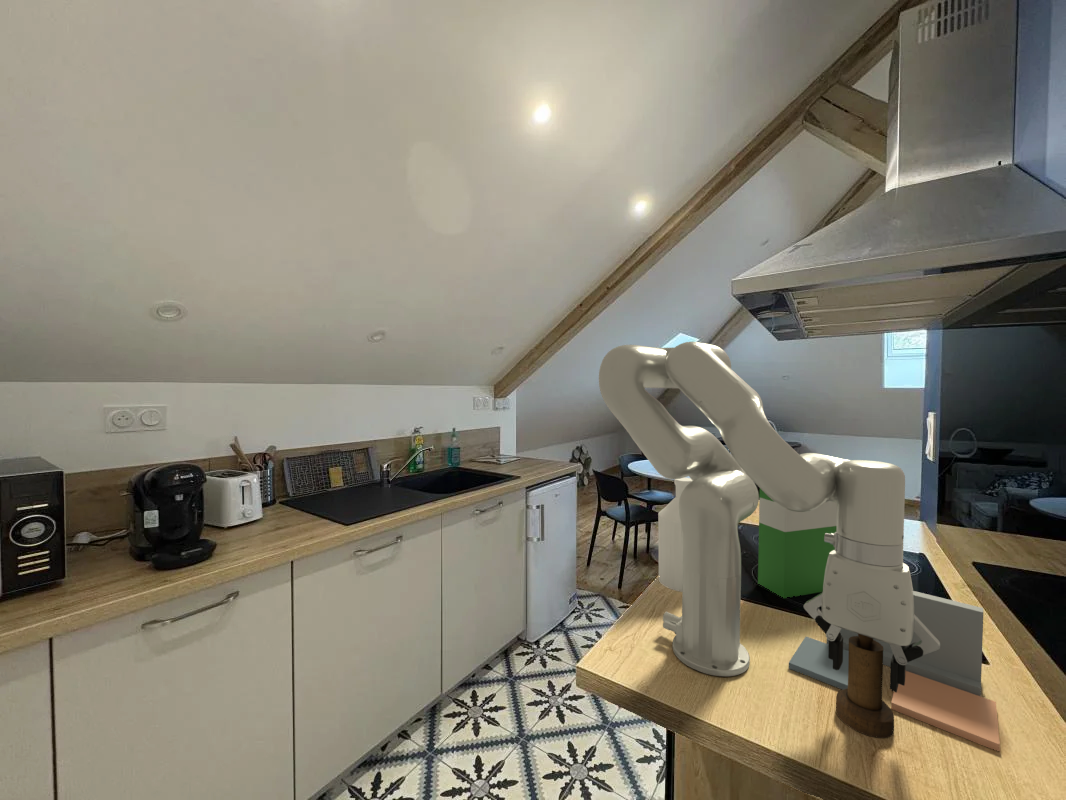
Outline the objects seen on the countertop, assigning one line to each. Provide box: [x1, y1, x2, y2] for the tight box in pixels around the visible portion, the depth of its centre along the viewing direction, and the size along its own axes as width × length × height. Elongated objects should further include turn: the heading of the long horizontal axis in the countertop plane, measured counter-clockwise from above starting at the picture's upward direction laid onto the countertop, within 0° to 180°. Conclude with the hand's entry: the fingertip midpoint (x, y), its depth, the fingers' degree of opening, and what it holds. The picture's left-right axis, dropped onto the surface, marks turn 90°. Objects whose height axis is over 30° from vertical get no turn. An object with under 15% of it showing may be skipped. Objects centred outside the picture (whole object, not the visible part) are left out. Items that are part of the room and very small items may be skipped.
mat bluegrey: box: [788, 636, 849, 690], centre depth 75 cm, size 11×11×1 cm
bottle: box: [657, 477, 692, 593], centre depth 108 cm, size 12×12×25 cm
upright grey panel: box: [826, 590, 984, 697], centre depth 77 cm, size 20×6×12 cm, turn 46°
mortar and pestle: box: [835, 634, 895, 739], centre depth 63 cm, size 7×6×18 cm
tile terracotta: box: [890, 671, 1001, 752], centre depth 66 cm, size 11×11×1 cm
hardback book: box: [757, 488, 837, 599], centre depth 106 cm, size 18×7×24 cm, turn 107°
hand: (865, 674), depth 63 cm, fingers open, 5 cm apart
